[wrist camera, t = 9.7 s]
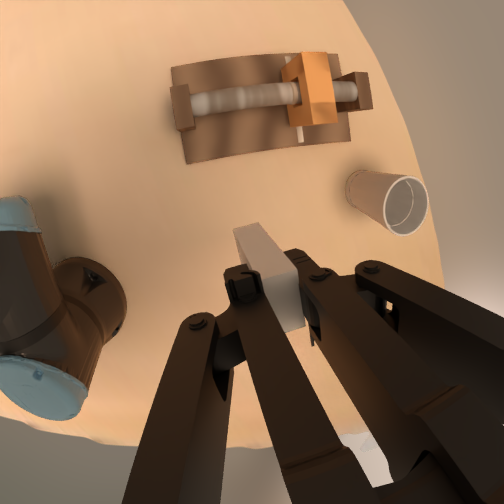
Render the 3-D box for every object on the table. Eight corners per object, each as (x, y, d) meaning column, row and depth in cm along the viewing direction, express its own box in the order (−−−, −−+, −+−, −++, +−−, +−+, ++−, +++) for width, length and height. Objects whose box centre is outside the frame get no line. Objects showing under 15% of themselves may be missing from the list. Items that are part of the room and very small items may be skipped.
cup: (344, 161, 42) (389, 170, 31) (385, 169, 43) (433, 181, 32) (336, 210, 45) (377, 234, 34) (377, 215, 46) (421, 238, 35)
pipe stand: (187, 163, 38) (183, 168, 30) (171, 69, 33) (164, 52, 25) (347, 141, 41) (377, 143, 33) (334, 55, 35) (361, 41, 28)
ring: (290, 127, 36) (313, 124, 28) (280, 68, 33) (301, 51, 25) (311, 125, 36) (338, 122, 29) (301, 68, 33) (326, 52, 25)
